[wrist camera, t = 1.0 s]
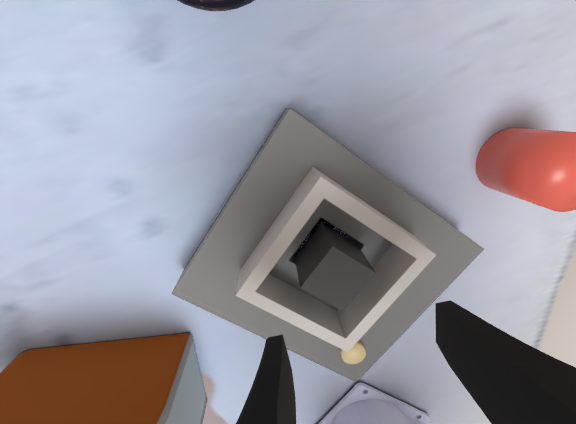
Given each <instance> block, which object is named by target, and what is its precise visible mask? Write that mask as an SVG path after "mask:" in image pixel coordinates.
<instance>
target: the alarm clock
mask: <svg viewBox="0 0 576 424" xmlns="http://www.w3.org/2000/svg"><path fill="white" fill-rule="evenodd" d="M206 403H207V396H206V392H205V388H204V384H203V379H202V375H201V371H200V367H199V362H198V358H197V354H196V350H195V345H194V341H193V337H192V333H182V334H173V335H163V336H154V337H144V338H134V339H125V340H115V341H105V342H96V343H86V344H76V345H67V346H57V347H48V348H38V349H31V350H27V351H25V352H23V353H21V354H19V355H18V356H17V357H16V358H15V359H14V360H13V361H12V362H11V363H10V364H9V365H8V366H7V367H6V368H5V369H4V370H3V371H2V372H1V373H0V424H202V423H203V418H204V413H205V408H206Z"/></svg>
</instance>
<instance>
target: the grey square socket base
mask: <svg viewBox="0 0 576 424" xmlns="http://www.w3.org/2000/svg"><path fill="white" fill-rule="evenodd" d="M320 218H323V219H324V220H326V221H328V222H329V223H331V224H332V225H334V226H336V227H337V228H339V229H340V230H342V231H343V232H345V233H347V234H346V236H345V237H346V238H348V239H349V240H351V241H353V242H354V243H356V244H357V245H358V246H359V248H360V249H361V251H362V252H363V254H364V255H365V257H366V258H367V260H368V261H369V263H370V265H371V266H372V268H373V269H374V271H375V272H376V273H375V274H374V275H373V277H372V278H371V279H370V280H369V281H368V282H367V284H366V285H365V286H364V287H363V288H362V289H361V291H360V292H359V293H358V294H357V295H356V296H355V298H354V299H353V300H352V301H351V302H350V303H349V305H348V306H347V307H346V308H345V309H344V310H343V311H341V310H339V309H338V308H336V307H334V306H332V305H330V304H328V303H327V302H325V301H323V300H321V299H319V298H318V297H316V296H314V295H312V294H310V293H308V292H307V291H305V290H303V289H301V288H300V284H299V279H298V273H297V268H296V262H295V256H296V254H297V253H298V252H299V250H300V249H299V248H298V247H299V246H300V245H301V243H302V242H303V241H304V239H305V238H306V237H307V235H308V234H309V233H310V231H311V230H312V229H313V227H314V226H315V225H316V223H317V222H318V221H319V219H320ZM483 250H484V248H482V247H481V246H479V245H478V244H477V243H475V242H474V241H472V240H471V239H470V238H468V237H467V236H466V235H464V234H463V233H461V232H460V231H459V230H457V229H456V228H455V227H453V226H452V225H450V224H449V223H448V222H446V221H445V220H444V219H442V218H441V217H439V216H438V215H437V214H435V213H434V212H433V211H431V210H430V209H428V208H427V207H426V206H424V205H423V204H422V203H420V202H419V201H417V200H416V199H415V198H413V197H412V196H411V195H409V194H408V193H406V192H405V191H404V190H402V189H401V188H400V187H398V186H397V185H395V184H394V183H393V182H391V181H390V180H389V179H387V178H386V177H384V176H383V175H382V174H380V173H379V172H377V171H376V170H375V169H373V168H372V167H371V166H369V165H368V164H366V163H365V162H364V161H362V160H361V159H360V158H358V157H357V156H355V155H354V154H353V153H351V152H350V151H349V150H347V149H346V148H344V147H343V146H342V145H340V144H339V143H338V142H336V141H335V140H333V139H332V138H331V137H329V136H328V135H327V134H325V133H324V132H322V131H321V130H320V129H318V128H317V127H316V126H314V125H313V124H311V123H310V122H309V121H307V120H306V119H305V118H303V117H302V116H300V115H299V114H298V113H296V112H295V111H294V110H292V109H291V108H287V109H286V110H285V112H284V113H283V115H282V116H281V118H280V120H279V121H278V123H277V124H276V126H275V127H274V129H273V131H272V132H271V134H270V135H269V137H268V138H267V140H266V142H265V143H264V145H263V146H262V148H261V149H260V151H259V153H258V154H257V156H256V157H255V159H254V160H253V162H252V164H251V165H250V167H249V168H248V170H247V171H246V173H245V175H244V176H243V178H242V179H241V181H240V182H239V184H238V186H237V187H236V189H235V190H234V192H233V193H232V195H231V197H230V198H229V200H228V201H227V203H226V205H225V206H224V208H223V209H222V211H221V212H220V214H219V216H218V217H217V219H216V220H215V222H214V223H213V225H212V227H211V228H210V230H209V231H208V233H207V234H206V236H205V238H204V239H203V241H202V242H201V244H200V245H199V247H198V249H197V250H196V252H195V253H194V255H193V256H192V258H191V260H190V261H189V263H188V264H187V266H186V267H185V269H184V271H183V273H182V275H181V276H180V278H179V280H178V282H177V284H176V286H175V288H174V290H173V292H172V294H173V295H175V296H177V297H179V298H181V299H183V300H185V301H188V302H190V303H192V304H194V305H196V306H198V307H200V308H202V309H204V310H206V311H209V312H211V313H213V314H215V315H217V316H219V317H221V318H223V319H225V320H227V321H229V322H232V323H234V324H236V325H238V326H240V327H242V328H244V329H246V330H248V331H250V332H253V333H255V334H257V335H259V336H261V337H263V338H265V339H267V338H268V337H273V336H277V335H282V334H283V337H284V341H285V345H286V349H288V350H290V351H292V352H295V353H297V354H299V355H301V356H303V357H305V358H307V359H309V360H311V361H313V362H316V363H318V364H320V365H322V366H324V367H326V368H328V369H330V370H332V371H334V372H336V373H339V374H341V375H343V376H345V377H347V378H349V379H351V380H353V381H355V382H357V381H358V380H359V379H360V378H361V377H362V376H363V375H364V374H365V373H366V372H367V371H368V370H369V369H370V367H371V366H372V365H373V364H374V363H375V362H376V361H377V360H378V359H379V358H380V357H381V356H382V355H383V354H384V353H385V352H386V351H387V350H388V349H389V348H390V347H391V346H392V345H393V344H394V342H395V341H396V340H397V339H398V338H399V337H400V336H401V335H402V334H403V333H404V332H405V331H406V330H407V329H408V328H409V327H410V326H411V325H412V324H413V323H414V322H415V321H416V320H417V319H418V317H419V316H420V315H421V314H422V313H423V312H424V311H425V310H426V309H427V308H428V307H429V306H430V305H431V304H432V303H433V302H434V301H435V300H436V299H437V298H438V297H439V296H440V295H441V294H442V292H443V291H444V290H445V289H446V288H447V287H448V286H449V285H450V284H451V283H452V282H453V281H454V280H455V279H456V278H457V277H458V276H459V275H460V274H461V273H462V272H463V271H464V270H465V269H466V267H467V266H468V265H469V264H470V263H471V262H472V261H473V260H474V259H475V258H476V257H477V256H478V255H479V254H480V253H481V252H482V251H483Z"/></svg>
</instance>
